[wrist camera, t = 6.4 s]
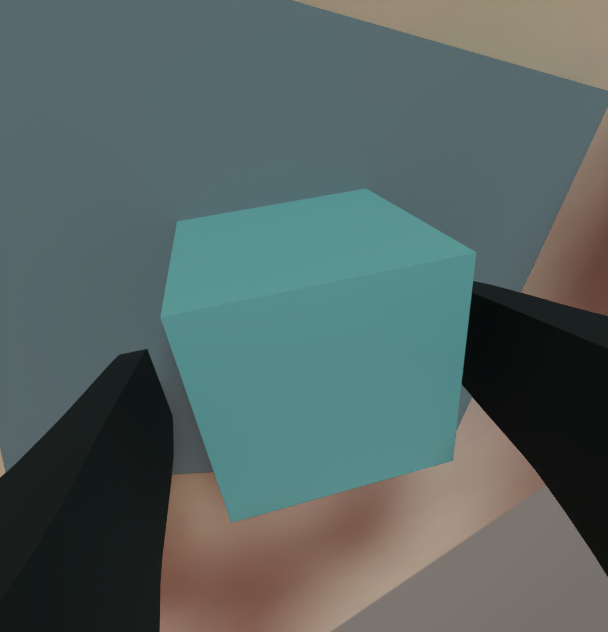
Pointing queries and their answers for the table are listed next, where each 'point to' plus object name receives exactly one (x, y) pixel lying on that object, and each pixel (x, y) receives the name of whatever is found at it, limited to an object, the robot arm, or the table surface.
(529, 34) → the table surface
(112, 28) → the grey blue flat plate
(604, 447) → the robot arm
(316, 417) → the cube
